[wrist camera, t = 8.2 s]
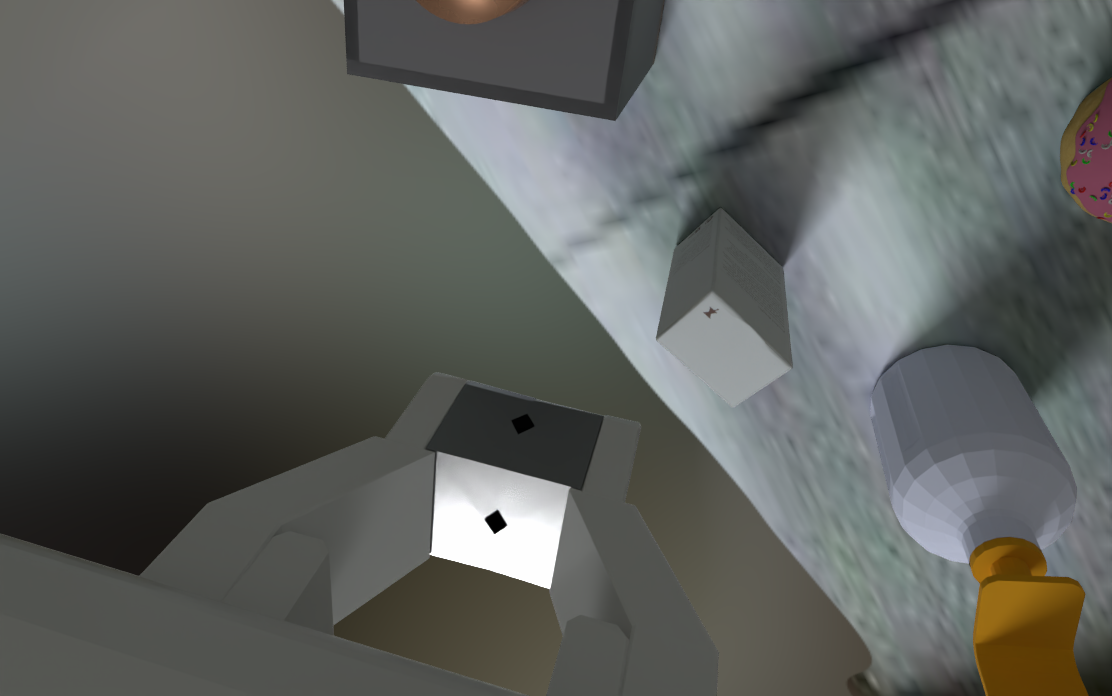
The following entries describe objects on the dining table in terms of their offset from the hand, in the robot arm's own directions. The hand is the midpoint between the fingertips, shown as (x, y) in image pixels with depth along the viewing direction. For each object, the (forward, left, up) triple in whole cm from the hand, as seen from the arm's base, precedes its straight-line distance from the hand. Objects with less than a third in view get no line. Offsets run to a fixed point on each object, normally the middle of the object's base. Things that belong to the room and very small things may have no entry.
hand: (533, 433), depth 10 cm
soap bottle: (+19, +21, -36) cm, 46 cm away
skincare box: (+12, +5, -36) cm, 39 cm away
